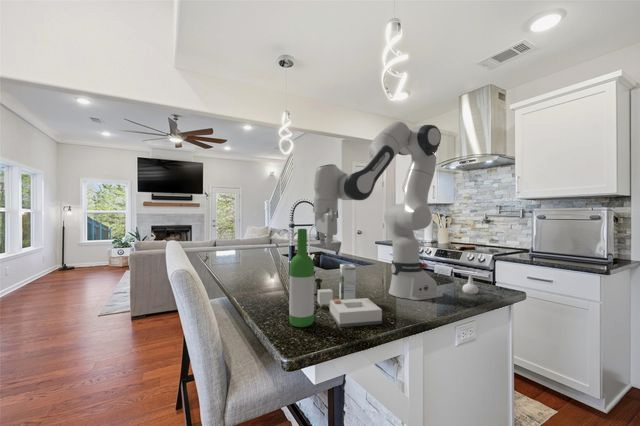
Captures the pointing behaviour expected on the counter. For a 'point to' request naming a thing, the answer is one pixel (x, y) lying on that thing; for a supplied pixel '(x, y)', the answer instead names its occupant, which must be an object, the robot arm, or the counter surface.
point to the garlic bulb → (470, 287)
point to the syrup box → (347, 282)
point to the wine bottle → (301, 285)
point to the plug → (325, 297)
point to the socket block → (355, 312)
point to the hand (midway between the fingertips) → (325, 245)
